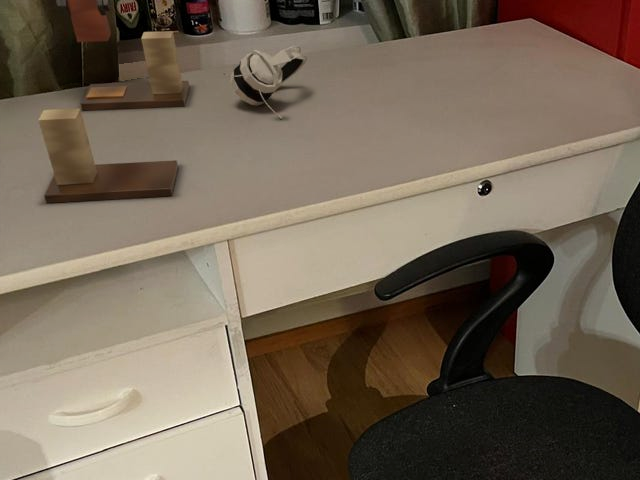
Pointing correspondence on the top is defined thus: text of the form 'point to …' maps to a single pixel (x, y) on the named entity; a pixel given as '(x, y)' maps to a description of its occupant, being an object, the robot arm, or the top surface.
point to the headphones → (264, 74)
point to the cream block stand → (95, 166)
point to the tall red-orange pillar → (88, 21)
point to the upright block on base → (156, 93)
